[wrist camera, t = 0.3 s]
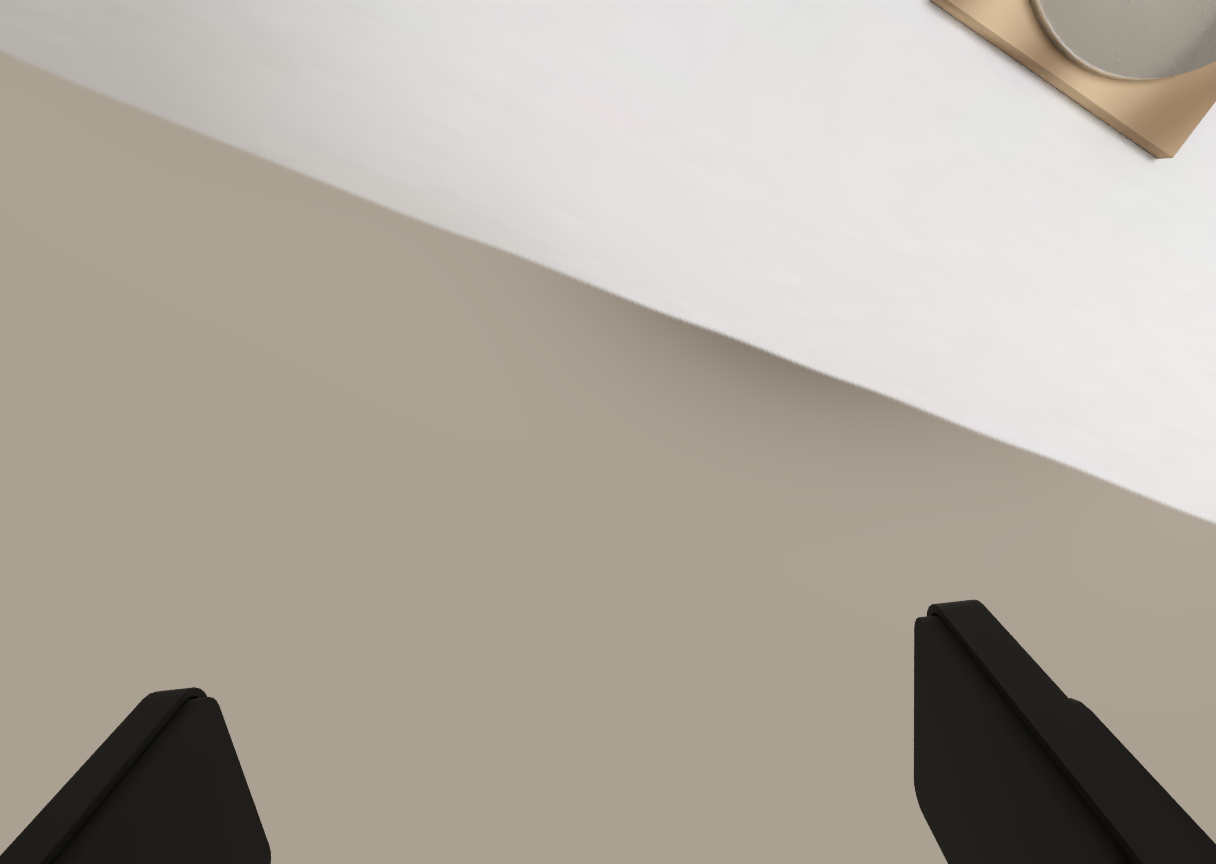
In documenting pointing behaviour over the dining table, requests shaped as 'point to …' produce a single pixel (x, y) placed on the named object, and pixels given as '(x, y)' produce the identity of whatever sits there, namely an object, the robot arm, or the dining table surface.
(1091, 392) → the dining table surface
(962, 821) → the robot arm
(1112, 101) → the plate
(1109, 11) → the lid
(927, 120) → the dining table surface
